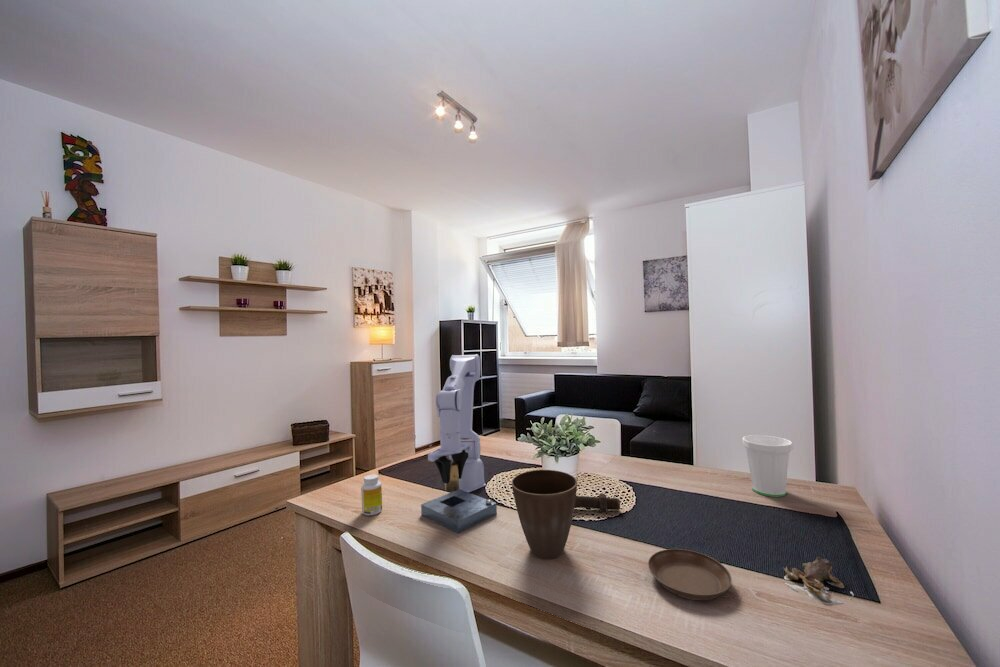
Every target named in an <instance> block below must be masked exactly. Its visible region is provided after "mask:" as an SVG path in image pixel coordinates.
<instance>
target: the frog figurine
mask: <svg viewBox="0 0 1000 667" xmlns="http://www.w3.org/2000/svg"><path fill="white" fill-rule="evenodd" d="M802 567H803V568H804V570H803V571H804V572H803V571H801V570H799V569H798V568H796V567H792V569H791V571H790V570H789V568H788V566H787V565H786V567H782V568H783V569H784V572H785V574H786V575H784V577H783V578H784V580H786V581H792V580H793V581H794V580H797V581H798V580H799V578H800V579H801V580H802V582H803V586H800V585H797V584H794V585H792V584H791V583H790V584H789V583H787V582H784V584H785V585H786V586H787V587H788V588H790V589H791V590H793V591H795V592H796V593H798V590H797V589H799V590H801V591H804V592H806V593H807V594H808V597H810V598H812V599H813V600H815V601H818V602H820V603H821V604H824V605H843V604H844V602H843V601H842V600H838V599H831V598H830V596H829V592H828V590H830V588H829V587H827V586H825V585H824V580H828V579H830V580H831V582H829V581H826V583H827V584H829V585H831V586H834V587H836V588H839V589H844V588H845V585H844V582H843V583H842V581H840V580H839V579H838V578H837V577H835V576H834V575H832V574H831V571H832V569H833V566H832V563H831V561H830V560H828V559H827V558H822V557H820V556H818V557H816V558H815V560H813V562H812V561H811V562H810V561H808V562H807V563H806V562H805V563H802ZM849 592H850V594H851V599H850V601H852V600H853V598H854V596H855V594H854V593H853V591H851V590H850V591H849ZM831 594H832V595H833V594H834V595H835V593H834V592H832V593H831Z"/></svg>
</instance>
